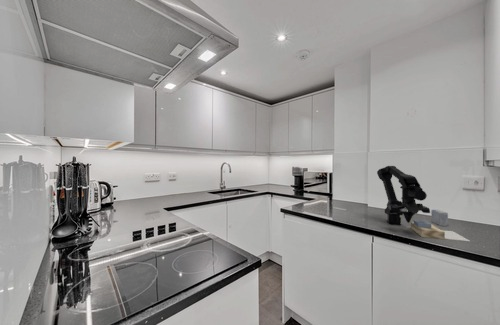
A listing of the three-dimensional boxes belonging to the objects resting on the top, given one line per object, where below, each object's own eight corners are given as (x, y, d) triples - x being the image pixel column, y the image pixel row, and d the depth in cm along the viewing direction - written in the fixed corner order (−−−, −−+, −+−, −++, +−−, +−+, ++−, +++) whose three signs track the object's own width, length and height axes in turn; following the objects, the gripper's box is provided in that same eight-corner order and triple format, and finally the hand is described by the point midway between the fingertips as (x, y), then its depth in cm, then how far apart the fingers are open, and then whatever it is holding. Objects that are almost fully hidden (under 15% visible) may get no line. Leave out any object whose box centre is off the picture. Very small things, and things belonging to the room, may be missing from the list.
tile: (418, 227, 111) (418, 223, 110) (413, 223, 116) (413, 219, 116) (431, 228, 108) (431, 224, 108) (425, 224, 114) (425, 220, 114)
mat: (445, 239, 103) (445, 238, 103) (431, 230, 116) (431, 229, 116) (470, 241, 100) (470, 241, 100) (453, 232, 113) (453, 231, 113)
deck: (421, 236, 107) (421, 229, 107) (410, 228, 120) (410, 221, 120) (444, 239, 103) (444, 231, 103) (430, 229, 116) (430, 223, 116)
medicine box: (448, 226, 122) (448, 212, 122) (440, 225, 123) (440, 212, 123) (438, 222, 130) (438, 209, 130) (431, 221, 131) (431, 209, 131)
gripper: (394, 198, 110) (394, 225, 110) (435, 200, 103) (435, 228, 104) (388, 195, 121) (388, 219, 121) (425, 196, 114) (424, 222, 114)
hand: (408, 222), depth 115 cm, fingers closed
